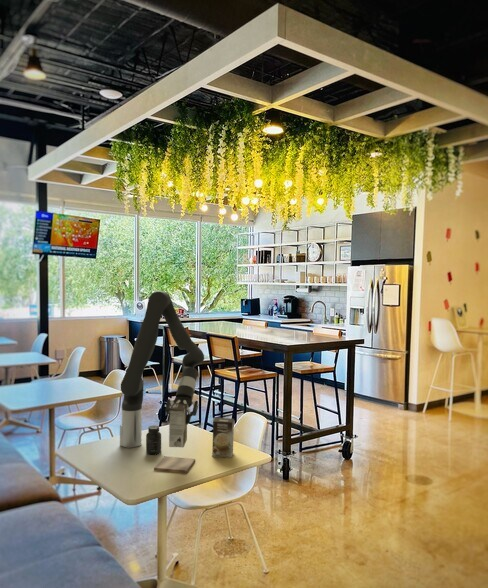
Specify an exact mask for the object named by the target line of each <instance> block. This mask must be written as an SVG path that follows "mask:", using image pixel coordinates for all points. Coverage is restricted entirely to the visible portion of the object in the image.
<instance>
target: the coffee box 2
mask: <svg viewBox="0 0 488 588" xmlns="http://www.w3.org/2000/svg"><path fill="white" fill-rule="evenodd" d="M212 424H213V425H212V449H211V450H212V453H211V456H212V457H215V458H216V457H217V458H230V459H231V458H233V454H234V435H235V433H234V431H235V427H234V426H235V419H234V418H228V417H216V416H215V417H214V419H213V423H212Z"/></svg>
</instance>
